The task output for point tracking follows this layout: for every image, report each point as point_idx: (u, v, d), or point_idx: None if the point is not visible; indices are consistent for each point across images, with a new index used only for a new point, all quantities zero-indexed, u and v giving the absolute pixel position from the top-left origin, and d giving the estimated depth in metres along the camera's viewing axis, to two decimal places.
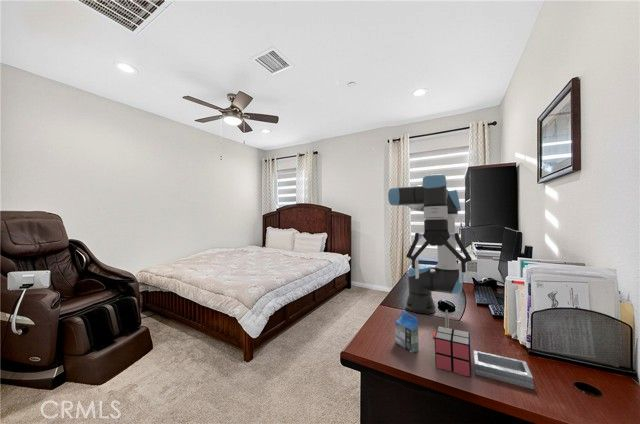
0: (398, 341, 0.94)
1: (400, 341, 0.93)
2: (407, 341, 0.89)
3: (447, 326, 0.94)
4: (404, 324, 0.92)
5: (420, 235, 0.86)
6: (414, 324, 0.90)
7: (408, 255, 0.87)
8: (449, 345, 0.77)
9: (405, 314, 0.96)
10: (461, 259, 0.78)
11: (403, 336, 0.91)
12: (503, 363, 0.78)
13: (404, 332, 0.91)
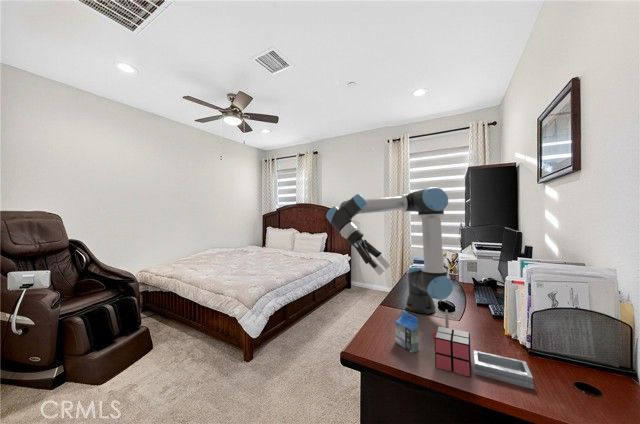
0: (398, 341, 0.94)
1: (400, 341, 0.93)
2: (407, 341, 0.89)
3: (447, 326, 0.94)
4: (404, 324, 0.92)
5: None
6: (414, 324, 0.90)
7: None
8: (449, 345, 0.77)
9: (405, 314, 0.96)
10: None
11: (403, 336, 0.91)
12: (503, 363, 0.78)
13: (404, 332, 0.91)
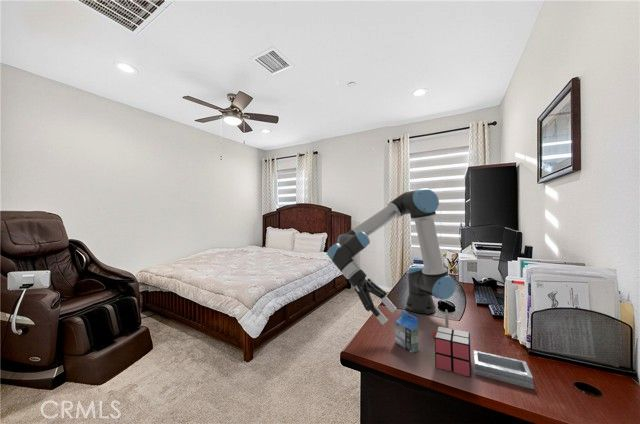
0: (398, 341, 0.94)
1: (400, 341, 0.93)
2: (407, 341, 0.89)
3: (447, 326, 0.94)
4: (404, 324, 0.92)
5: None
6: (414, 324, 0.90)
7: None
8: (449, 345, 0.77)
9: (405, 314, 0.96)
10: None
11: (403, 336, 0.91)
12: (503, 363, 0.78)
13: (404, 332, 0.91)
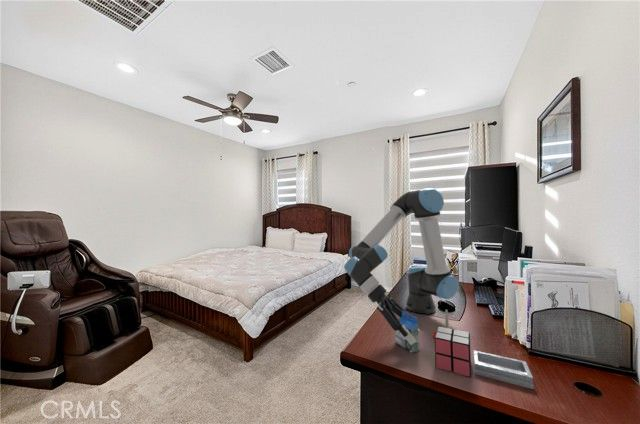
0: (398, 341, 0.94)
1: (400, 340, 0.93)
2: (407, 341, 0.89)
3: (447, 326, 0.94)
4: (404, 324, 0.92)
5: None
6: (414, 324, 0.90)
7: None
8: (449, 345, 0.77)
9: (405, 313, 0.96)
10: None
11: None
12: (503, 363, 0.78)
13: None
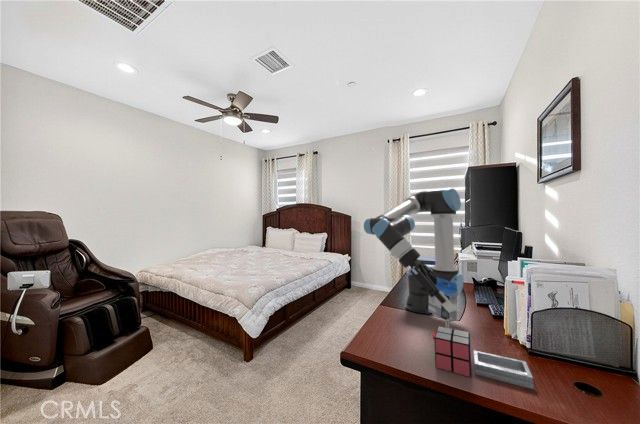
0: (432, 310, 0.84)
1: (434, 309, 0.83)
2: (444, 309, 0.80)
3: (447, 326, 0.94)
4: None
5: None
6: (452, 291, 0.80)
7: None
8: (449, 345, 0.77)
9: (440, 281, 0.86)
10: None
11: (439, 304, 0.81)
12: (503, 363, 0.78)
13: None
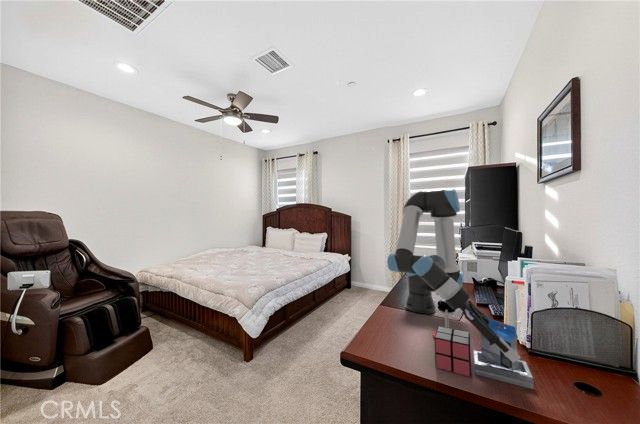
0: (487, 356, 0.77)
1: (490, 355, 0.77)
2: (504, 356, 0.73)
3: (447, 326, 0.94)
4: None
5: None
6: (511, 335, 0.74)
7: None
8: (449, 345, 0.77)
9: (491, 322, 0.80)
10: None
11: (496, 350, 0.75)
12: None
13: None
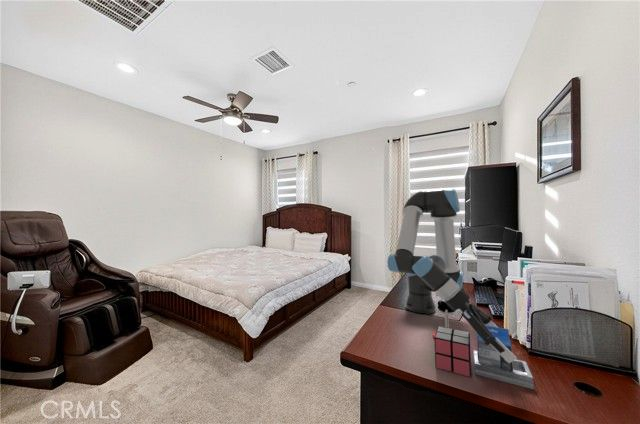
0: (486, 364, 0.76)
1: (489, 363, 0.76)
2: (504, 361, 0.74)
3: (447, 326, 0.94)
4: None
5: None
6: (505, 338, 0.77)
7: None
8: (449, 345, 0.77)
9: None
10: None
11: (496, 356, 0.75)
12: None
13: None
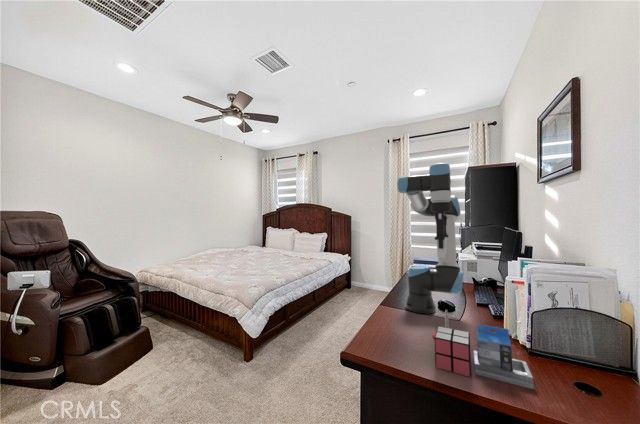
0: (486, 364, 0.76)
1: (489, 363, 0.76)
2: (504, 361, 0.74)
3: (447, 326, 0.94)
4: (494, 341, 0.76)
5: None
6: (505, 338, 0.77)
7: None
8: (448, 345, 0.77)
9: (483, 327, 0.80)
10: None
11: (496, 356, 0.75)
12: None
13: (498, 351, 0.75)
